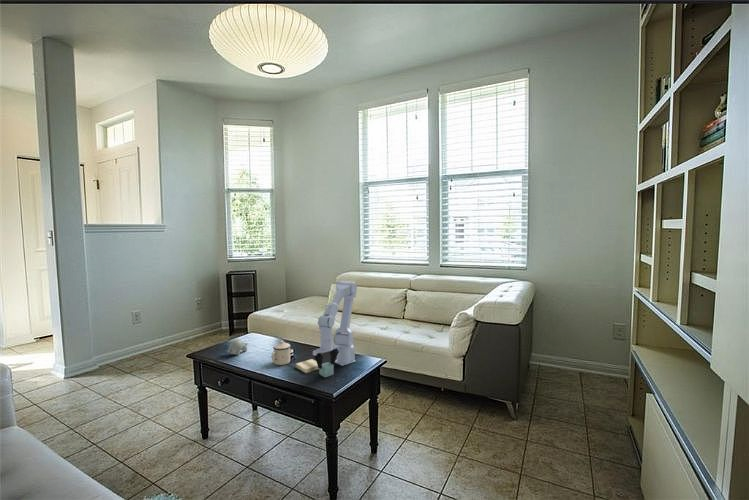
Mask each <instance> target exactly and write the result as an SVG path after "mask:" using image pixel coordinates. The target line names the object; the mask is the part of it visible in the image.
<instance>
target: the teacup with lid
mask: <svg viewBox="0 0 749 500" xmlns="http://www.w3.org/2000/svg"><path fill="white" fill-rule="evenodd" d="M284 341H285V340H280V341H279V342H278V343H276V344H274V346H273V347H272V348H273V352H272V353H271V360H272V361H273V363H274V364H275V365H277V366H283V365H287V364H290V362H291V348H292V347H291V344H290V343H287V342H284Z"/></svg>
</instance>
